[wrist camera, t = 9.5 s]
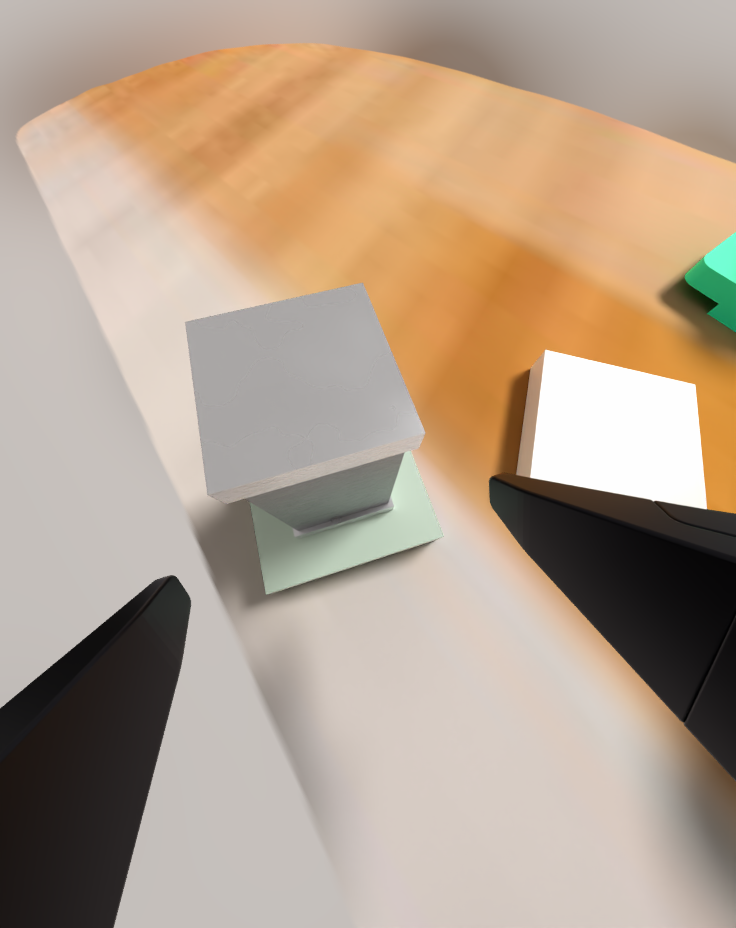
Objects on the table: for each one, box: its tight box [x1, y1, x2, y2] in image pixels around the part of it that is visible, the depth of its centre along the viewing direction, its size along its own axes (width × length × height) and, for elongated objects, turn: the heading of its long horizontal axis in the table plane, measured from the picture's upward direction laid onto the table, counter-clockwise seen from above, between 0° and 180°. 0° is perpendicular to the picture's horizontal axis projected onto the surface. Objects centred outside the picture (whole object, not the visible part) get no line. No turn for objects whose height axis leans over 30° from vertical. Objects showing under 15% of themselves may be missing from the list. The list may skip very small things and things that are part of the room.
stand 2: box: [516, 350, 707, 509], centre depth 20 cm, size 10×10×2 cm
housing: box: [185, 283, 425, 539], centre depth 13 cm, size 6×6×10 cm
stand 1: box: [250, 451, 444, 594], centre depth 18 cm, size 10×10×2 cm
